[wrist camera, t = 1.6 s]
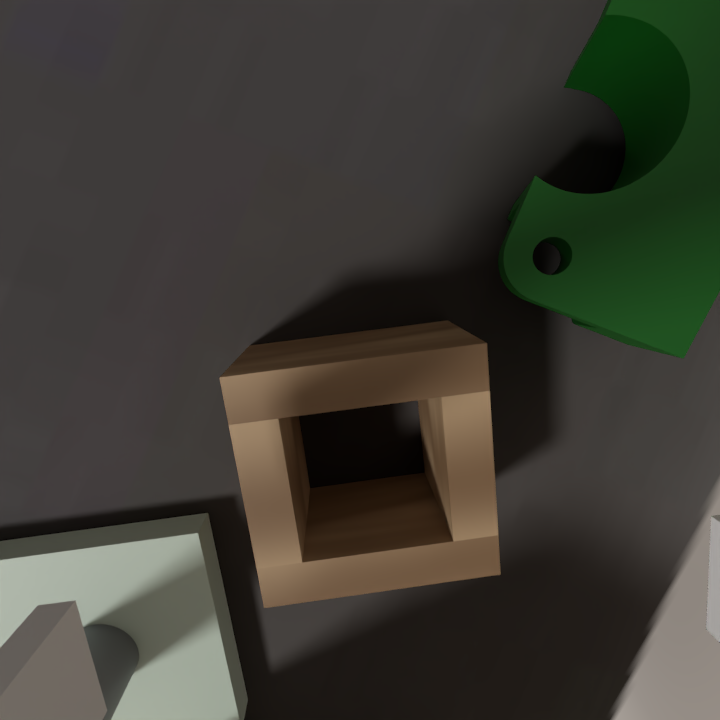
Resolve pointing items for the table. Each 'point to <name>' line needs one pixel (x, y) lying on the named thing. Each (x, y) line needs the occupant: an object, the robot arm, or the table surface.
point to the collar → (371, 497)
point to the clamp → (637, 185)
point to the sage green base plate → (137, 613)
